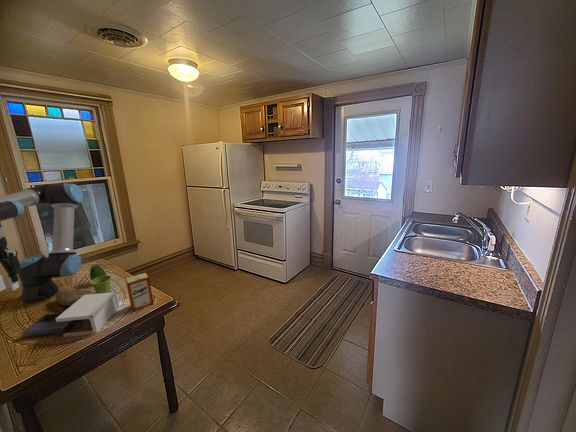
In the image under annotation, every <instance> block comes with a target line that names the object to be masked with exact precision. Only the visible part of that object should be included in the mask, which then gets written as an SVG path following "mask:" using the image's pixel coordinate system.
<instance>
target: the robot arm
mask: <svg viewBox="0 0 576 432" xmlns="http://www.w3.org/2000/svg"><path fill="white" fill-rule="evenodd" d="M83 201H84V194H83V191H82V189H81V188H80V186H79V185H77V184H75V183H66V182H65V183H52V184H49V183H48V184H45V183H44V184H40V185H35V186H31V187H28V188H24V189H20V190H19V191H18V192H14V193H11V194H5V195H1V196H0V264H1V266H2V268H3V269H4V270H5V272H6V273H7V276H6V277H7V281H8V284H9V286H10V289H11V291H15V290H17V289H19V288H20V285H19V281H20V283H21V286H22V288H21V289H22V290H21V296H20V298H21V299H20V300H21V302H22V303H25V304H32V303H36V302H40V301H43V300H47V299H49V298H52V297H54V296H56V294H57V293H58V292H59V291H60V287H59V286H58V285H57V284H56V283H55V282H54V280H53V279H54V278H66V277H71V276H74V275H76V274H77V273H78V271H80V268H81V266H82V259H81V256H80V254H77V251H76V250H74V231H75V230H74V228H75V209H77V208H78V207H79V204H80V203H82V202H83ZM38 205H40V206H42V205H50V206H51V208H53V209H54V212H53V234H52V250H51V251H49V253H48V254H47V256H48V257H46V255H45V253H43V254H42V253H41V254H40V253H39V254H35V255H31V256H27V257H26V258H23V259H21V260H19V258H18V257H19V256H18V254H19V253H18V251H17V250H10V249H9V248H8V247H7V246H8V241H7V238H6V237H5V231H4V229H3V226H2V223H1V222H3V221H5V220H9V219H13V218H14V219H15V218H17V217H21V215H23V214H24V212H25V207H33V206H38ZM6 288H7V287H6V285H5V281H4V278H3V275H2V274H0V292H2V291H3V290H5V289H6Z"/></svg>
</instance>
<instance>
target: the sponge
mask: <svg viewBox="0 0 576 432" xmlns="http://www.w3.org/2000/svg"><path fill="white" fill-rule="evenodd" d="M89 294H94V293H93V292H92V291H90V290H86V289H82V288H78V289H77V288H66V289H61V290H59V292H58V293H57V294H55V300H56V302H58V304H60V305H61V306H69V307H70V306H72V305H73V304H74V303H75V302H76V301H78V300H79V299H80V298H81V297H82V296H84V295H89Z"/></svg>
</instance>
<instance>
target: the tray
mask: <svg viewBox="0 0 576 432" xmlns="http://www.w3.org/2000/svg"><path fill="white" fill-rule="evenodd" d="M62 313H63V312H59V313H57V312H55V313H46V314H44V315H42V317H40V318H39V319H38V320H36V321H35V322H33V323H32V324H31V325H30V326H28V327H27V328H25V329H24V330H23V331H22V335H23V338H24V339H27V337H28V338H37V337H44V336H55V335H62V334H64V333H68V332H69V330H71V329H72V328H73V327H74V326H75V325H76V324H78V322H79V321H80V320H71V321H61V322H56V318H57V317H58V316H60V315H61V314H62Z"/></svg>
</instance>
